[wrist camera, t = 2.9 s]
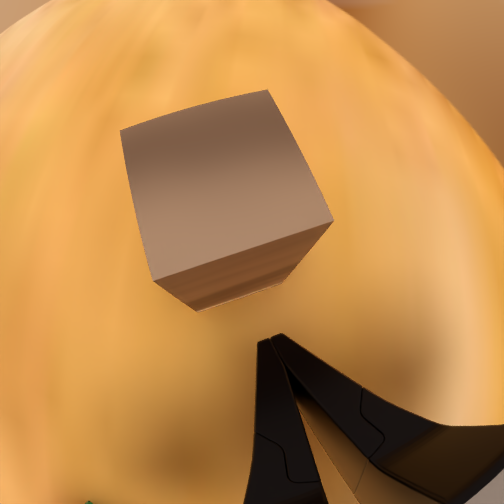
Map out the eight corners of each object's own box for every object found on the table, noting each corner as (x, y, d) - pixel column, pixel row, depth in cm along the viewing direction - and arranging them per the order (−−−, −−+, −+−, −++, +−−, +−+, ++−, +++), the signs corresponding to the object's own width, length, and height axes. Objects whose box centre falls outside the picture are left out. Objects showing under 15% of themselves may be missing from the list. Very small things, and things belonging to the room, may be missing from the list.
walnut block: (281, 283, 18) (334, 220, 8) (197, 312, 17) (153, 280, 8) (251, 206, 19) (267, 89, 9) (172, 232, 18) (120, 130, 9)
